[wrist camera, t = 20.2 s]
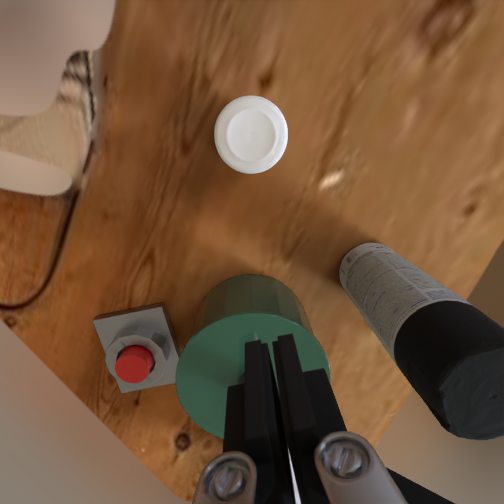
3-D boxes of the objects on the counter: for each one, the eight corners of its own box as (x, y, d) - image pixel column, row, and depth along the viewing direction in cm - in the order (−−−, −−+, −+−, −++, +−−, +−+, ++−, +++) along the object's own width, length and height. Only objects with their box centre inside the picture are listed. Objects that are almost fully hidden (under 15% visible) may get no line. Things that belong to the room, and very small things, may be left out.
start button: (115, 348, 37) (109, 358, 35) (147, 342, 36) (142, 351, 35) (126, 375, 38) (120, 386, 36) (157, 369, 38) (153, 380, 36)
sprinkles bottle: (216, 133, 33) (197, 124, 20) (255, 105, 32) (261, 77, 19) (242, 173, 34) (241, 189, 21) (280, 147, 33) (303, 146, 20)
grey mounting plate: (96, 315, 38) (84, 329, 35) (164, 301, 38) (157, 314, 35) (124, 386, 41) (115, 404, 38) (187, 374, 41) (183, 391, 38)
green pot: (184, 286, 37) (165, 331, 28) (295, 264, 37) (311, 302, 28) (211, 379, 41) (202, 444, 32) (312, 359, 41) (332, 420, 32)
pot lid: (158, 324, 29) (132, 378, 22) (315, 292, 28) (338, 338, 21) (199, 445, 33) (187, 522, 26) (337, 420, 32) (361, 492, 25)
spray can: (346, 304, 38) (445, 459, 19) (329, 252, 37) (421, 366, 17) (402, 285, 38) (562, 425, 19) (388, 231, 36) (551, 325, 17)
